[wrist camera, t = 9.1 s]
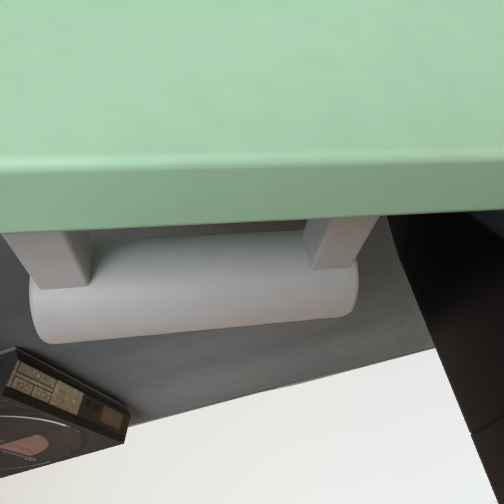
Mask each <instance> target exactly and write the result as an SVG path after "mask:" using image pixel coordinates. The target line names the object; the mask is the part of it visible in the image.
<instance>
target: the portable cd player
mask: <svg viewBox="0 0 504 504" xmlns="http://www.w3.org/2000/svg"><path fill="white" fill-rule="evenodd" d="M129 420H130V414H129V412H128V409H127V407H126V406H125V405H124V404H122V403H120V402H118V401H116V400H114V399H112V398H111V397H109V396H107V395H105V394H103V393H101V392H99V391H97V390H96V389H94V388H92V387H90V386H88V385H86V384H84V383H82V382H81V381H79V380H77V379H75V378H73V377H71V376H69V375H68V374H66V373H64V372H62V371H60V370H58V369H56V368H54V367H53V366H51V365H49V364H47V363H45V362H43V361H41V360H40V359H38V358H36V357H34V356H32V355H30V354H28V353H26V352H25V351H23V350H21V349H19V348H17V347H15V346H14V347H11V348H8V349H4V350H1V351H0V478H3V477H6V476H9V475H13V474H17V473H21V472H24V471H28V470H31V469H35V468H38V467H42V466H46V465H49V464H53V463H56V462H60V461H63V460H67V459H70V458H74V457H78V456H81V455H85V454H88V453H92V452H96V451H99V450H103V449H106V448H110V447H113V446H117V445H120V444H124V441H125V437H126V433H127V428H128V424H129Z"/></svg>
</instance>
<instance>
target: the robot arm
mask: <svg viewBox="0 0 504 504" xmlns="http://www.w3.org/2000/svg"><path fill="white" fill-rule="evenodd" d="M387 218H388V222H389V225H390V229H391V233H392V236H393V240H394V244H395V247H396V250H397V253H398V256H399V259H400V261H401V264H402V266H403V269H404V271H405V274H406V276H407V279H408V281H409V283H410V286H411V288H412V291H413V293H414V296H415V298H416V301H417V303H418V306H419V308H420V311H421V313H422V316H423V318H424V321H425V323H426V325H427V328H428V330H429V333H430V335H431V338H432V340H433V343H434V345H435V348H436V350H437V352H438V355H439V358H440V360H441V362H442V365H443V367H444V370H445V372H446V375H447V377H448V380H449V382H450V385H451V387H452V390H453V392H454V394H455V397H456V400H457V402H458V404H459V407H460V409H461V412H462V414H463V417H464V419H465V422H466V424H467V427H468V429H469V432H470V433H472V434H471V437H472V440H473V442H474V445H475V447H476V449H477V452H478V454H479V457H480V459H481V462H482V464H483V467H484V469H485V472H486V474H487V477H488V479H489V481H490V484H491V486H492V489H493V491H494V494H495V496H496V499H497V501H498V503H499V504H504V210H485V211H465V212H445V213H424V214H404V215H387Z"/></svg>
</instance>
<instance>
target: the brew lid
mask: <svg viewBox="0 0 504 504" xmlns="http://www.w3.org/2000/svg"><path fill="white" fill-rule="evenodd" d="M485 210H504V0H0V234H2V236H3V237H4V239H5V240H6V241H7V243H8V244H9V246H10V247H11V249H12V250H13V251H14V253H15V254H16V256H17V257H18V259H19V260H20V262H21V263H22V264H23V266H24V267H25V269H26V270H27V272H28V273H29V274H30V283H29V298H30V308H31V314H32V318H33V322H34V326H35V328H36V331H37V333H38V335H39V337H40V338H41V339H42V340H43V341H44V342H46V343H49V344H60V343H71V342H81V341H92V340H102V339H113V338H123V337H134V336H144V335H154V334H165V333H175V332H186V331H196V330H207V329H217V328H228V327H238V326H249V325H259V324H269V323H280V322H290V321H301V320H311V319H322V318H332V317H343V316H345V315H347V314H349V313H350V312H351V311H352V310H353V308H354V306H355V304H356V301H357V296H358V290H359V270H358V263H357V257H356V256H357V255H358V253H359V251H360V249H361V248H362V246H363V244H364V243H365V241H366V239H367V237H368V236H369V234H370V232H371V231H372V229H373V227H374V225H375V224H376V222H377V220H378V219H379V217H380V216H384V215H404V214H424V213H445V212H465V211H485ZM303 219H308V220H307V223H306V226H305V229H304V230H290V231H272V232H253V233H235V234H216V235H198V236H179V237H161V238H142V239H124V240H105V241H90V239H89V237H88V234H87V231H86V230H100V229H121V228H141V227H161V226H181V225H202V224H222V223H242V222H262V221H283V220H303Z"/></svg>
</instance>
